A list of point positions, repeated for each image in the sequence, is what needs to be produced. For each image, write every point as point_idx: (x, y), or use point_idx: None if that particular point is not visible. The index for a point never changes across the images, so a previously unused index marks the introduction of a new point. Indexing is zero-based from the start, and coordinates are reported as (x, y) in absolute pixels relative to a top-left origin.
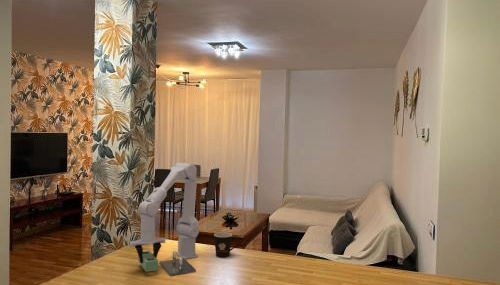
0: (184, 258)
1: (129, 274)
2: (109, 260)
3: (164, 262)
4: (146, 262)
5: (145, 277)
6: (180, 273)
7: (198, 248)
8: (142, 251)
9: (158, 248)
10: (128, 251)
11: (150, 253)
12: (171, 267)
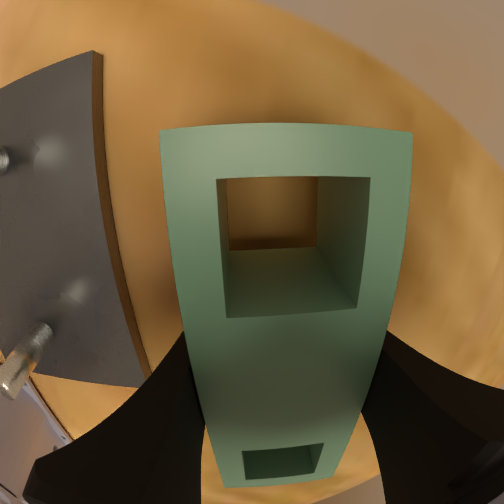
0: None
1: (427, 246)
2: None
3: (112, 358)
4: (398, 132)
5: (337, 109)
6: (21, 81)
7: None
8: (448, 412)
9: (90, 456)
10: (290, 499)
11: (233, 448)
12: (53, 222)
